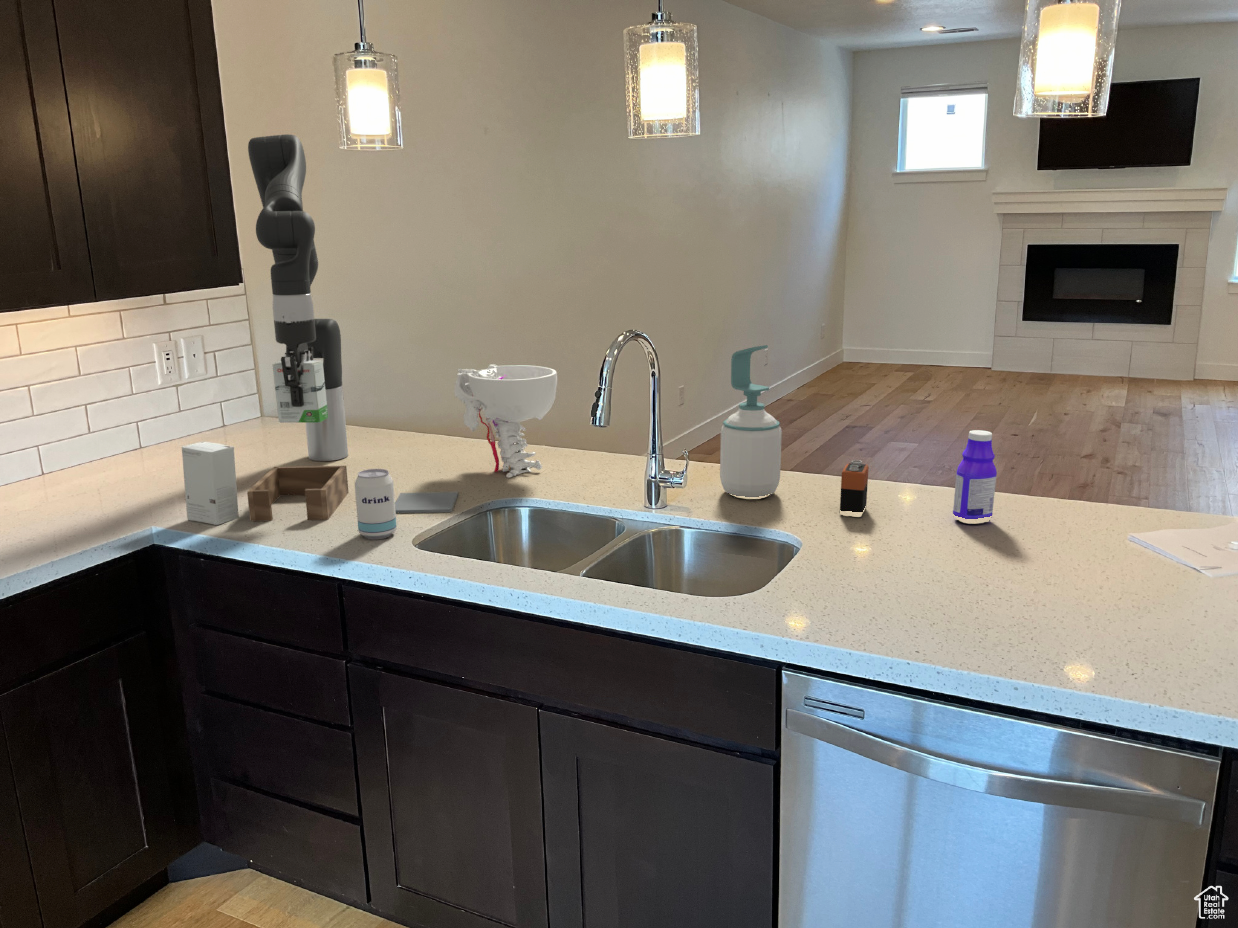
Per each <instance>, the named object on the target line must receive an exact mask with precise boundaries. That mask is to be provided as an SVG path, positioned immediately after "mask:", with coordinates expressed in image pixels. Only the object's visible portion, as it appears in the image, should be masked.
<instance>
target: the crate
mask: <svg viewBox="0 0 1238 928" xmlns="http://www.w3.org/2000/svg"><path fill="white" fill-rule="evenodd" d="M347 470H348V469H347V465H311V466H309V465H308V466H306V465H303V466H273V467H272V468H271V469H270V470H269V471H268V472H267V473H266V474H265V475H264V476H262V477H261V478H260V479H259V480H258V481H257V482H256V483H255V484H254V485H253V486H251V487H250V489H248V490H247V492H246V494H247V503H248V504H247V505H248V513H249V518H250V519H249V521H250V522H269V521H272V520H273V510H272V505H273V504H274V503H275V502H276V501H277V500H278V499H279V498H280V497H282V496H304V497H305V506H306V516H307V518H306V519H307V521H309V520H310V521H313V520H314V521H320V520H323V521H324V520H330V518H331V516H333V514H334V513H335V511H336V510H337V509H338V507H340V505H341V504H342V502H343V500H345V498H346V497H347V496H348V495H349V482H348V481H349V480H348V471H347Z"/></svg>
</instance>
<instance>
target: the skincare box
mask: <svg viewBox="0 0 1238 928" xmlns="http://www.w3.org/2000/svg"><path fill="white" fill-rule="evenodd" d="M181 454H182V455H181V457H182V469H183V480H184V493H185V495H184V496H185V506H186V508H185V509H186V518H187V521H191V522H198V523H205V524H210V525H215V526H219V525H221V524H225V523H227V522H230V521H233V520H235V519H238V518H239V504H238V503H239V502H238V489H237V488H238V487H237V473H236V461H235V460H236V459H235V457H236V456H235V447H234V446H233V445H232V446H231V445H227V444H222V443H218V442H209V441H200V442H195V443H193V444H191V443H190V444H187V445H183V446H181Z"/></svg>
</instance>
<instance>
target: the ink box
mask: <svg viewBox="0 0 1238 928" xmlns="http://www.w3.org/2000/svg"><path fill="white" fill-rule="evenodd" d="M301 364H303V366H304V375H303V376H302V384H303V385H302V389H303V400H304V405H303V406H302V407H293V406H292V404H291V394H290V388H289V387H288V386H285V381H284V375H283V369H282V363H281V361H277V362H275V363H272V371H273V372H272V373H273V381H274V390H275V401H276V408H277V418H278V423H279V424H280V423H285V424H286V423H291V424H293V423H301V424H303V423H305V424H306V423H319V422H322V421H323V420H325V419H327V418H328V410H327V401H326V390H325V380H324V370H323V360H313V361H306V362H305V363H300V367H299V368H297V371H300V370H301ZM292 380H295V379H294V376H293V377H292Z"/></svg>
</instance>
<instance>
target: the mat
mask: <svg viewBox="0 0 1238 928" xmlns="http://www.w3.org/2000/svg"><path fill="white" fill-rule="evenodd" d="M458 496H459V492H458V491H438V492H437V491H434V492H433V491H432V492H431V491H430V492H401V493H399V495H398V496H397V498H396V500H395V511H396V514H414V513H415V514H420V513H422V514H423V513H424V514H425V513H426V514H427V513H452V511H453V509H454V507H455V504H456V501H457V498H458Z"/></svg>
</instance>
